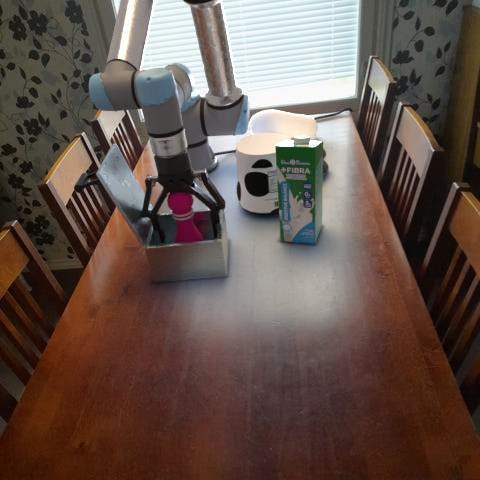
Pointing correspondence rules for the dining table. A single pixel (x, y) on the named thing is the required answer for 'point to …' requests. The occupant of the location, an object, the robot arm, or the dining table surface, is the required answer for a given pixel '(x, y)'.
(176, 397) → the dining table surface
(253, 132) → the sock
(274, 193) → the milk container
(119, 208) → the box lid
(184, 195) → the pepper mill
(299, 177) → the milk carton
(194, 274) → the metal tin
